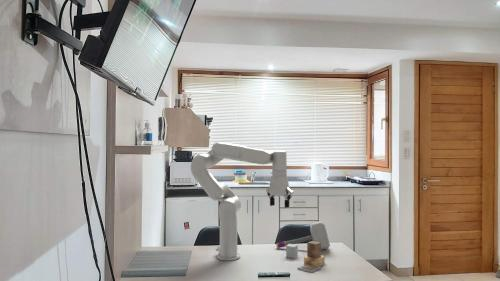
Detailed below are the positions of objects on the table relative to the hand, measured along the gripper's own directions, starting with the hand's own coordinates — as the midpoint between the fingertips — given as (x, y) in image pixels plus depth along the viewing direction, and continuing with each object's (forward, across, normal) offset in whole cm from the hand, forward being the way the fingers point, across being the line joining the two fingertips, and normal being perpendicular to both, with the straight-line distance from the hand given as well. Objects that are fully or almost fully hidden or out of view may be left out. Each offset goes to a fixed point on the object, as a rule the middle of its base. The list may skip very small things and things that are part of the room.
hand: (279, 206), depth 191 cm
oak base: (+29, +16, +8) cm, 34 cm away
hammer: (+29, -4, +28) cm, 40 cm away
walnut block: (+25, +16, +8) cm, 31 cm away
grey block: (+28, 0, +11) cm, 30 cm away
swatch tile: (+28, +19, -1) cm, 34 cm away
